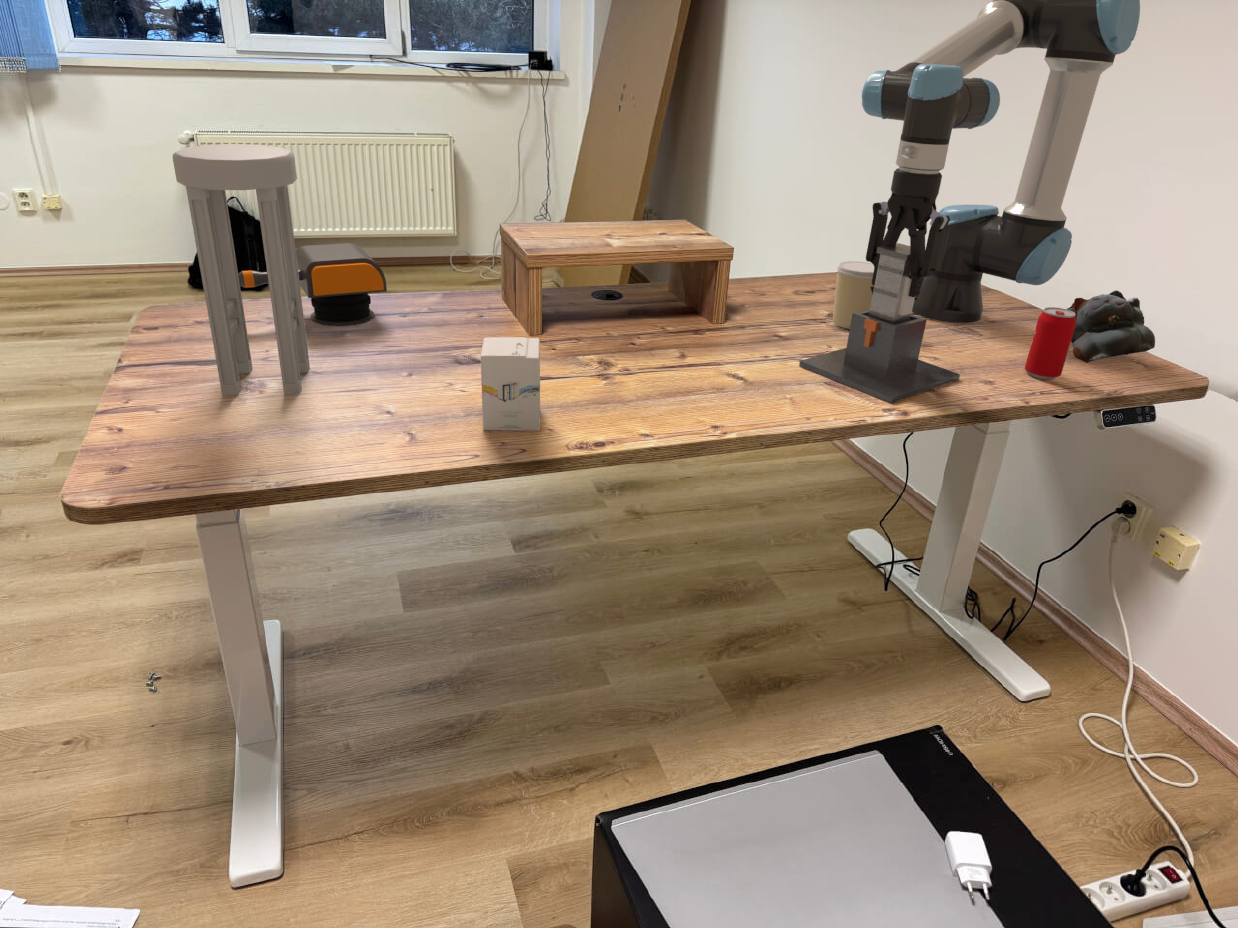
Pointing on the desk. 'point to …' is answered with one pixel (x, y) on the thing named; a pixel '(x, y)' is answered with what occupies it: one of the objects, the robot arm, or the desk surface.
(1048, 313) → the beverage can
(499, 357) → the ink box
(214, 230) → the stool
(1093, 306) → the lucky cat figurine
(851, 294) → the coffee cup
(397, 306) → the desk surface
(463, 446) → the desk surface
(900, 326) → the stand base
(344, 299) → the sander
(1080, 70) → the robot arm
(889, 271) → the column
